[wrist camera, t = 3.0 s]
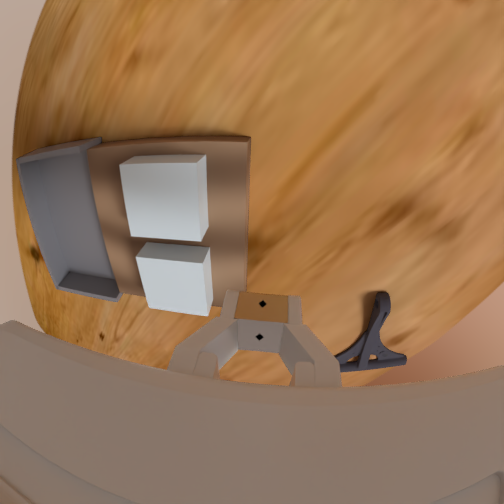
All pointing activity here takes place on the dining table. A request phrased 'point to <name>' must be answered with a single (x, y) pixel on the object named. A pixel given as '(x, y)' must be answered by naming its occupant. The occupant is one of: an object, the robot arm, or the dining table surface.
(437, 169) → the dining table surface
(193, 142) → the board
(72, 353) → the robot arm
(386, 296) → the bracket
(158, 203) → the tile
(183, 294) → the tile
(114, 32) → the dining table surface
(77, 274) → the tray
